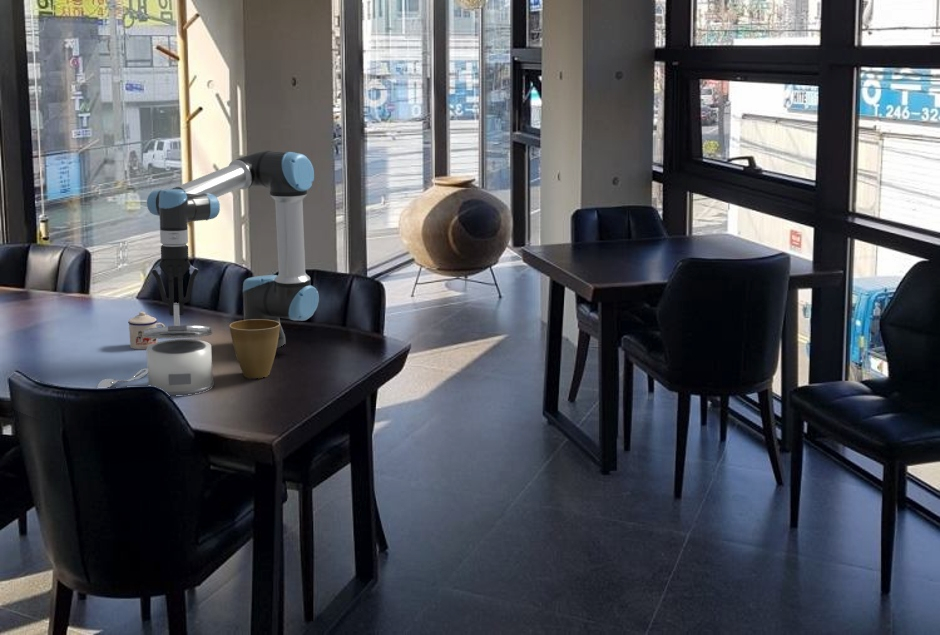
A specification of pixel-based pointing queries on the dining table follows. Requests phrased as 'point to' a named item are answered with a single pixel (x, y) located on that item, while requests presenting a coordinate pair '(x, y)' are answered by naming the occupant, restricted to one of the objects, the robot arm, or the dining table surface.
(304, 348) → the dining table surface
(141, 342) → the teacup with lid
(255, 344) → the plant pot
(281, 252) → the robot arm
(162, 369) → the cooker pot
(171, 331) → the lid
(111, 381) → the stirrer
